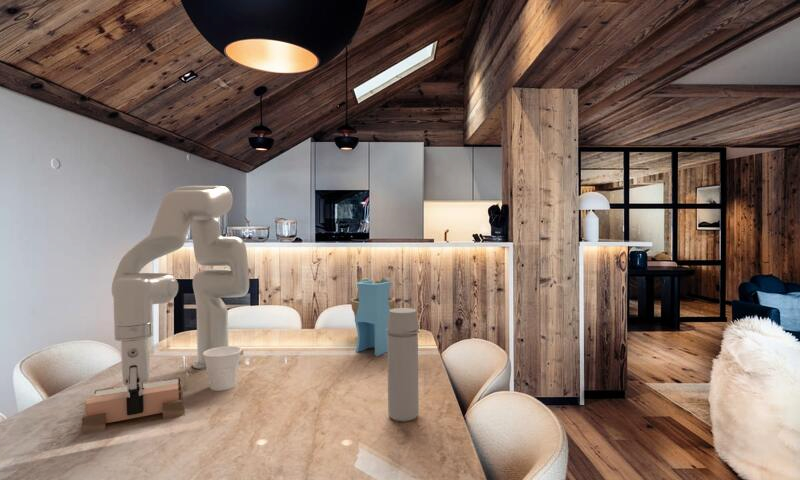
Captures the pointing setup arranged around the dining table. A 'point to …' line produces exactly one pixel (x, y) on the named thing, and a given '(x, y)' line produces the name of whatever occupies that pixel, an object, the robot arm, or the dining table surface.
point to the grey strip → (145, 386)
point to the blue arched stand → (372, 316)
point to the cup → (222, 367)
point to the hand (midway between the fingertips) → (135, 408)
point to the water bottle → (402, 364)
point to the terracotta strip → (118, 405)
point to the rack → (99, 420)
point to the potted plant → (386, 279)
